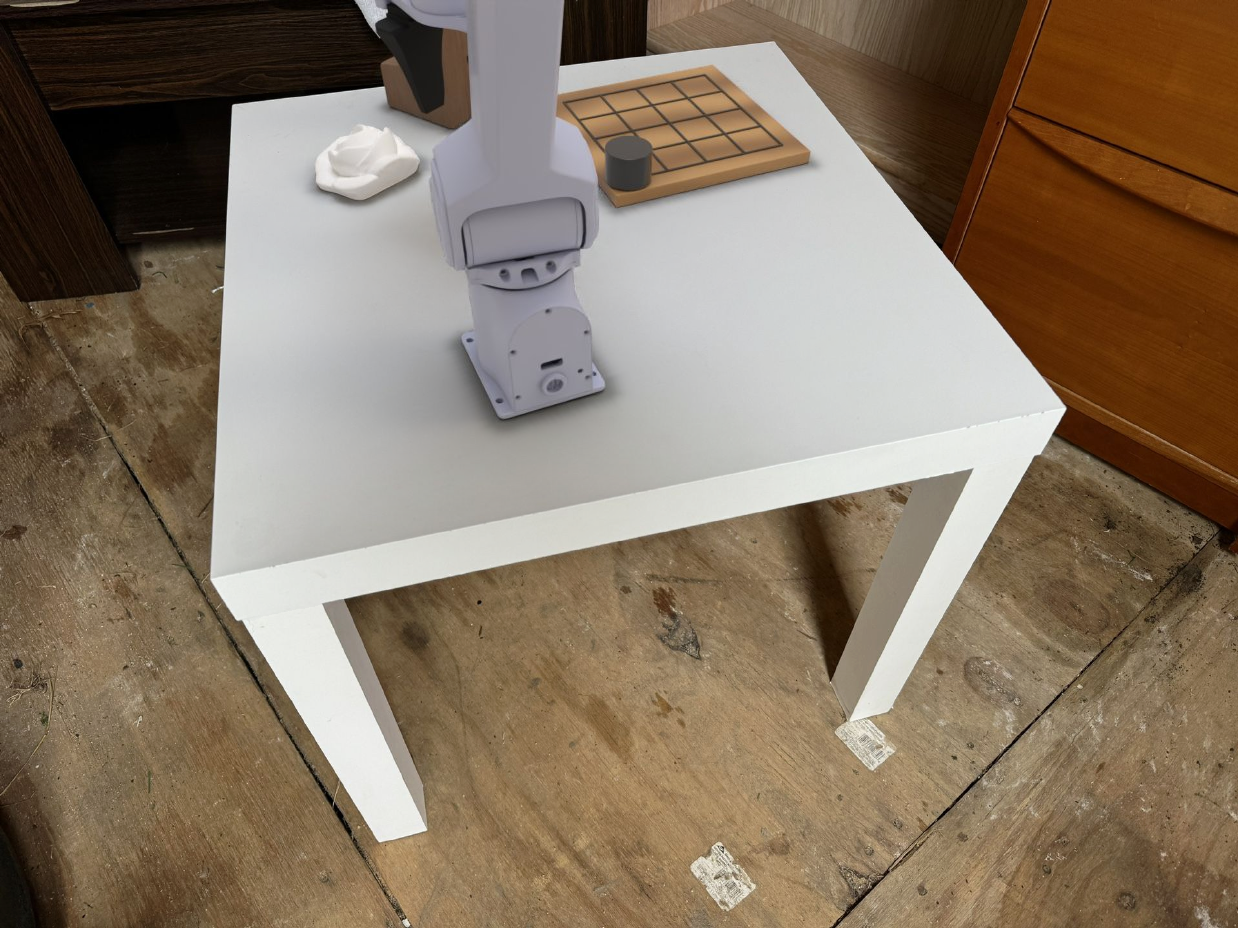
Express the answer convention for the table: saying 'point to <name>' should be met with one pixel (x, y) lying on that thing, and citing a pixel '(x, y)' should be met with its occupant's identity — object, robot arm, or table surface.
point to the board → (682, 131)
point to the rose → (364, 163)
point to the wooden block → (454, 83)
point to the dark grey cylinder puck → (628, 163)
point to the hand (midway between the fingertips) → (467, 122)
